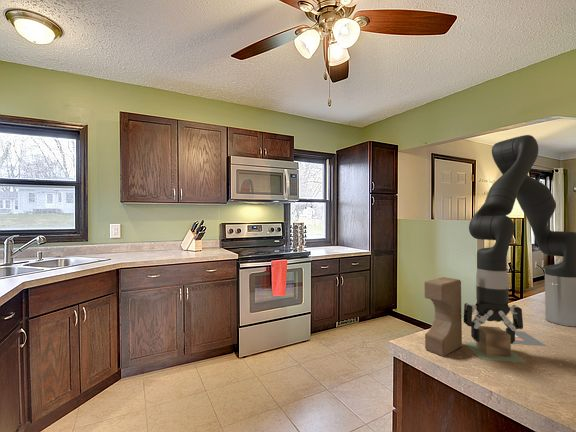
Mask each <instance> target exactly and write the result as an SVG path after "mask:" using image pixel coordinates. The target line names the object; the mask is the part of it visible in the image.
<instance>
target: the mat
mask: <svg viewBox="0 0 576 432" xmlns="http://www.w3.org/2000/svg"><path fill="white" fill-rule="evenodd" d="M463 343H464V344H465V345H466V346H467V347H468V348H469V349H470V350H471V351H472V352H473V353H474V354H475V355H476V356H477V357H478V358H479V359H480V360H487V361H503V362H514V363H528V362H527V361H526V360H525V359H523V358H522V357H521V356H519V355H518V354H517V353H515V352H514V351H513V350H511V357H501V356H488V355H486V354H485V353H483V352H482V351H481V350H480V349H479V348H478V347H477V346H476V342H472V341H463Z"/></svg>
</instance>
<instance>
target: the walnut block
mask: <svg viewBox="0 0 576 432" xmlns="http://www.w3.org/2000/svg"><path fill="white" fill-rule="evenodd" d="M478 329H479V342H476V341H475V343H476V346H477V347H478V348H479V349H480V350H481V351H482V352H483V353H485V354H486V355H488V356H501V357H511V351H512V347H511V346H512V344H511V335H509V334H508V333H507V332H505V331H506V330H505V331H504V329H502V328H500V327H499V326H490V325H489V326H488V325H487V326H483V325H480V327H479V328H478Z"/></svg>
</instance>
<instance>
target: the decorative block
mask: <svg viewBox="0 0 576 432" xmlns="http://www.w3.org/2000/svg"><path fill="white" fill-rule="evenodd" d="M423 283H424V286H423V287H424V298H425V299H428V300H430V301H431V302H432V304H433V306H434V319H433V322H432V325H431V327H430V328H429V330H428V331H427V332H426V333H424V349H425V350H426V351H427V352H430V353H433V354H436V355H437V356H440V357H445V356H446V355H448V354H450V353H452V352H454V351H456V350H458V349H459V348H461V347H462V346H463V333H462V332H463V331H462V328H463V327H462V325H463V324H462V322H463V321H462V320H463V319H462V280H461V279H457V278H450V277H447V276H445V277H444V276H442V277H438V278H433V279H431V280H425V281H424V282H423Z"/></svg>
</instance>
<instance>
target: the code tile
mask: <svg viewBox="0 0 576 432" xmlns="http://www.w3.org/2000/svg"><path fill="white" fill-rule="evenodd" d="M503 330H504V329H503ZM504 331H505V332H506V329H505V330H504ZM512 345H526V346H539V347H540V346H541V347H547V344H545V343H544V342H541V341H540V340H538V339H536V338H534V337H533V336H531V335H529V334H528V333H527V332H525V331H517V330H515V342H513V344H512Z"/></svg>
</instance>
